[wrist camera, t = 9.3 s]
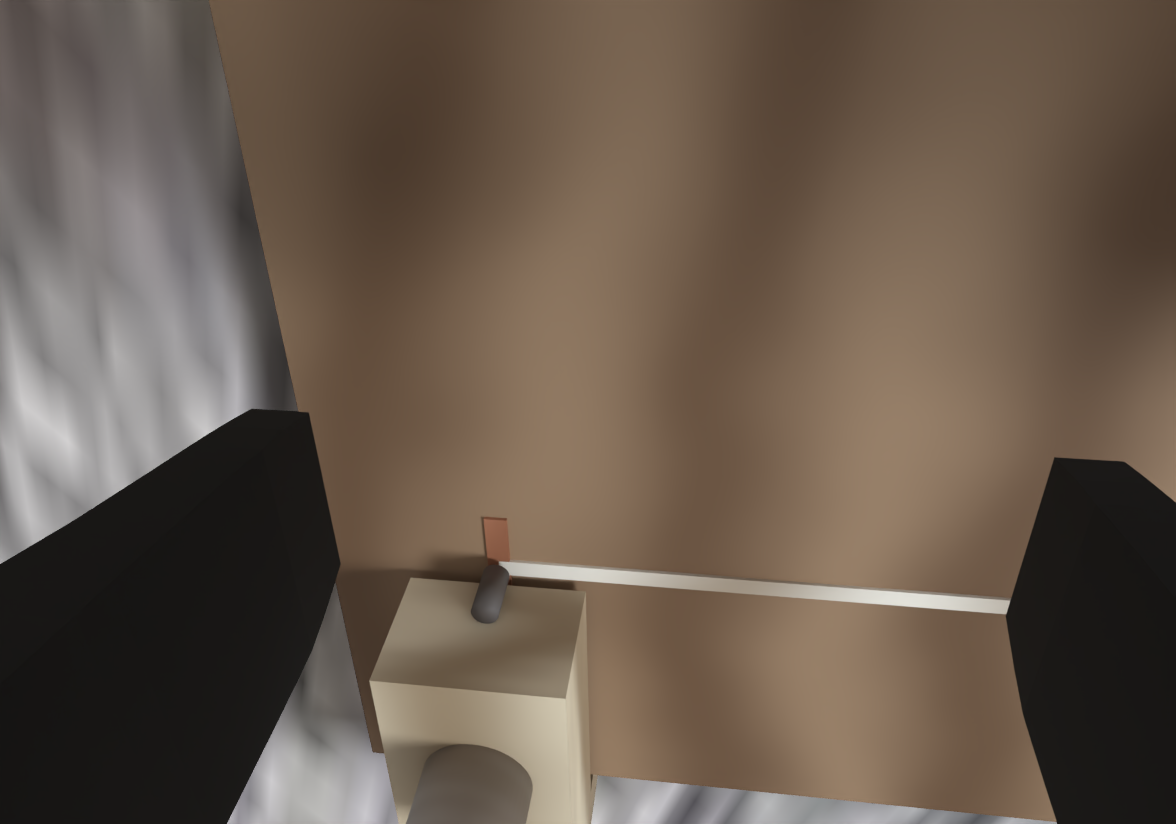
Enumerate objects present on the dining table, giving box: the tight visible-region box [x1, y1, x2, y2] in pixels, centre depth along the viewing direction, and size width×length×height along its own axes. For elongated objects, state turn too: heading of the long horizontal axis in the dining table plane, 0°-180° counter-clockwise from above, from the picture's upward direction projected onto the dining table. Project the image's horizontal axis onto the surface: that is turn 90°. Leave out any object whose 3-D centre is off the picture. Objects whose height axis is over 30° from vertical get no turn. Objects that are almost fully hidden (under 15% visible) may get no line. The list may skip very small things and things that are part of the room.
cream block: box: [369, 565, 598, 824], centre depth 22 cm, size 4×9×10 cm, turn 1°
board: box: [209, 0, 1176, 822], centre depth 21 cm, size 18×20×2 cm
